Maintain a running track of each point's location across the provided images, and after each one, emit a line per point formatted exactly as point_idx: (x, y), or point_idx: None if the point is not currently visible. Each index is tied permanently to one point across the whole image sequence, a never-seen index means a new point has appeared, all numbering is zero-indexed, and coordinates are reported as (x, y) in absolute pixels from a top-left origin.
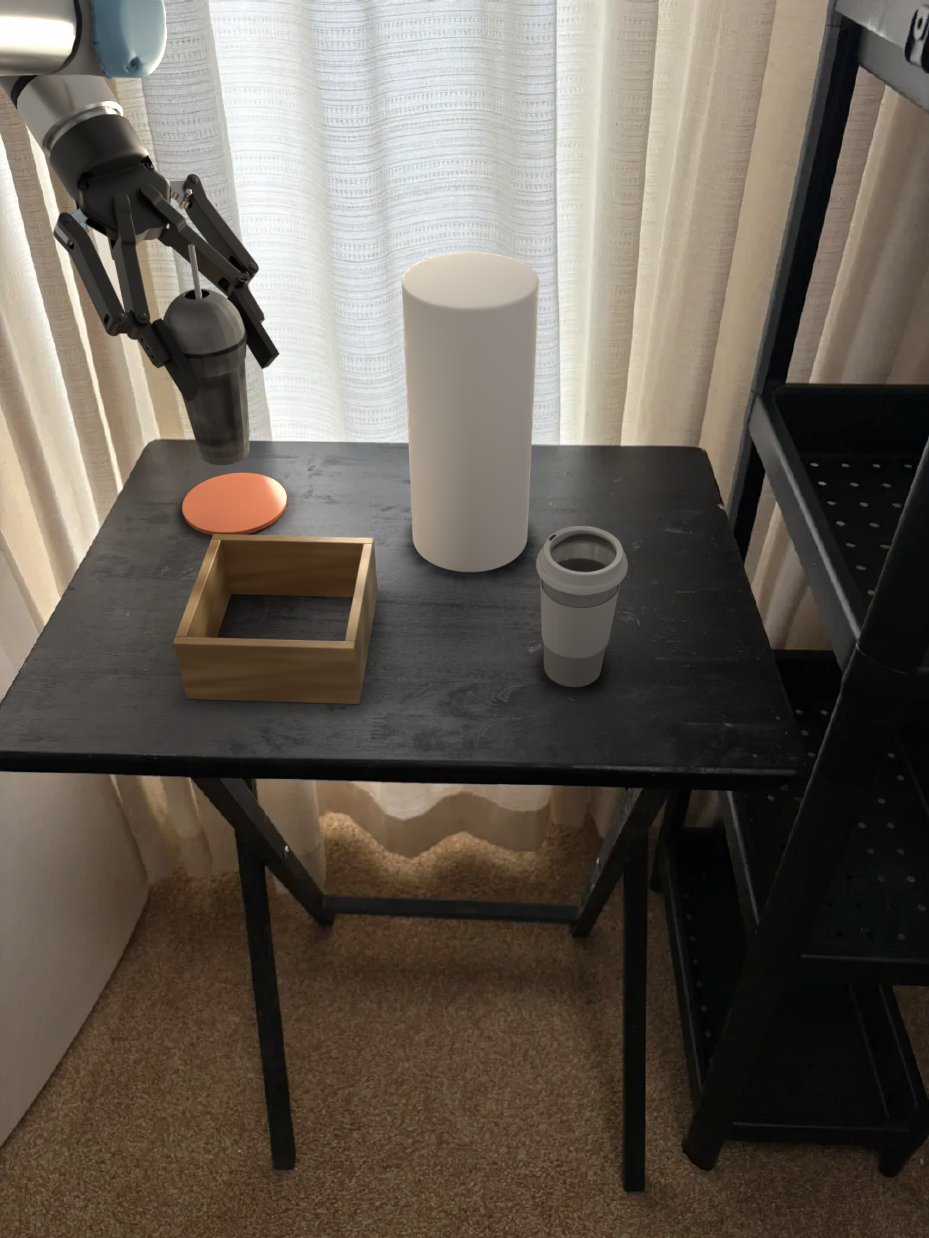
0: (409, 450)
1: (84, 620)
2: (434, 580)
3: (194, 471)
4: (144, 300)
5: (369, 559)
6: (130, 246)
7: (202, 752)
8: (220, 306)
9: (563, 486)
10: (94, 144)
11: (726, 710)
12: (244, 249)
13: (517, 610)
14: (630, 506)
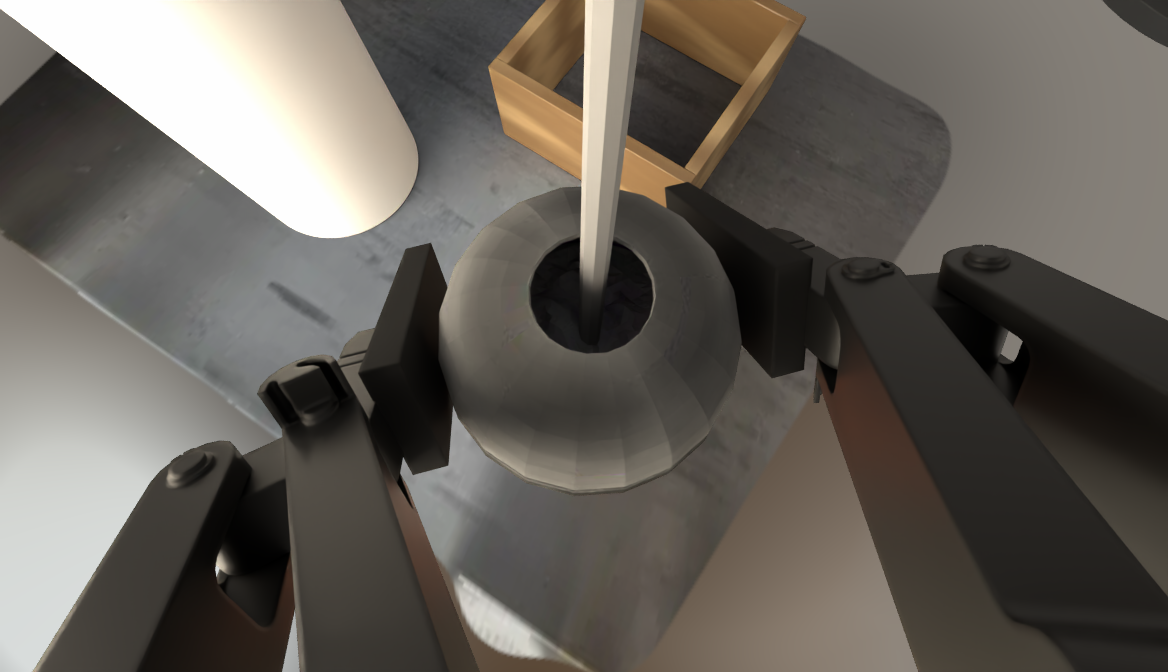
0: (336, 77)
1: None
2: (433, 119)
3: (605, 543)
4: (860, 313)
5: (518, 32)
6: (1073, 621)
7: None
8: (524, 214)
9: (154, 195)
10: None
11: None
12: (105, 568)
13: (385, 34)
14: (123, 115)
